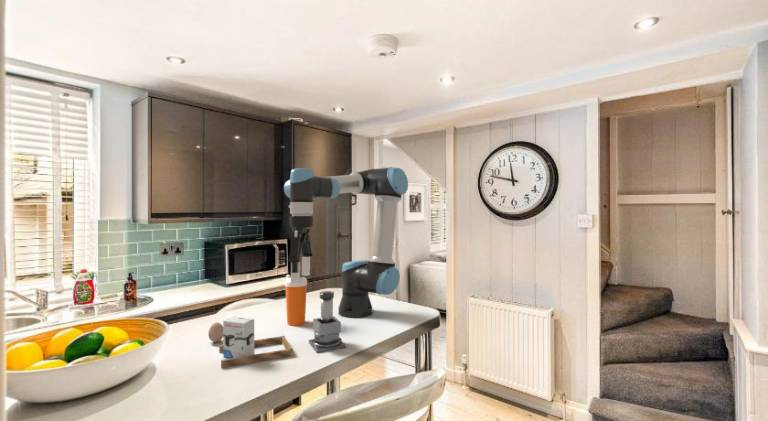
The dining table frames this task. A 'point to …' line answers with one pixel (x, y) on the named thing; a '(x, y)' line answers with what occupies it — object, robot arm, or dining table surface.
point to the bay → (262, 356)
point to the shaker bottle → (295, 300)
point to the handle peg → (326, 306)
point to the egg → (216, 332)
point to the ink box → (238, 337)
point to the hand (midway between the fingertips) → (300, 279)
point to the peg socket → (326, 336)
